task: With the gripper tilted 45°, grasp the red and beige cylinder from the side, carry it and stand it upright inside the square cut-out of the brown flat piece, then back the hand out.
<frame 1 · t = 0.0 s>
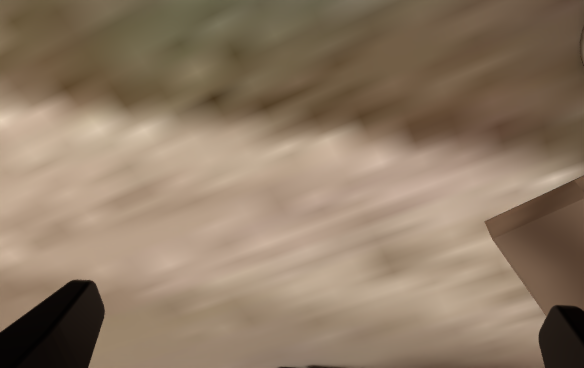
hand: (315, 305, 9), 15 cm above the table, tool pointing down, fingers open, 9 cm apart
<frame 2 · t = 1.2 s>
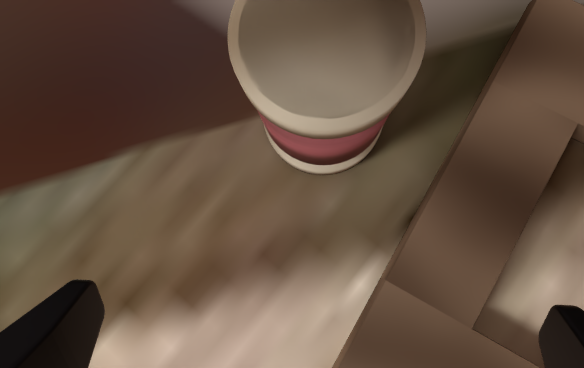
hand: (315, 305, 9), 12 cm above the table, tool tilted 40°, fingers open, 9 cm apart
red and beige cylinder: (322, 118, 21), on the table
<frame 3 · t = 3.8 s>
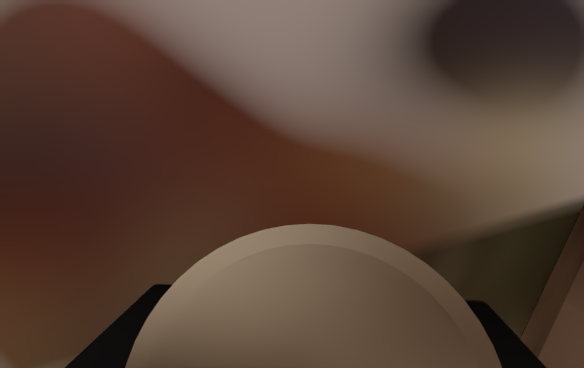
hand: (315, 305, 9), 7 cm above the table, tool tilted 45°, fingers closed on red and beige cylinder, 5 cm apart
red and beige cylinder: (314, 329, 15), on the table, touching gripper
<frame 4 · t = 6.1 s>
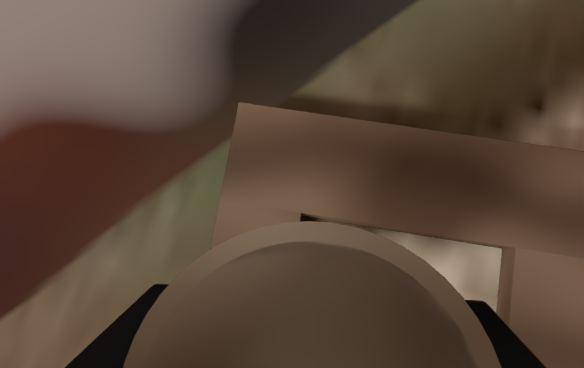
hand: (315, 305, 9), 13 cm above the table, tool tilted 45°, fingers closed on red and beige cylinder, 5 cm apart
red and beige cylinder: (314, 328, 15), point 7 cm above the table, touching gripper
brown flat piece: (387, 334, 21), on the table
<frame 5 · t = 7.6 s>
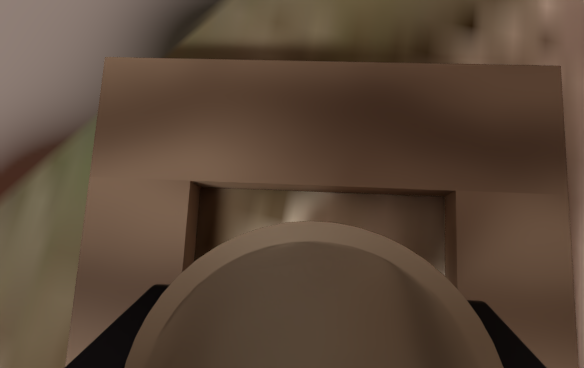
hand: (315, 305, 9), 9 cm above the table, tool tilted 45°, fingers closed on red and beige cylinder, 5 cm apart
red and beige cylinder: (315, 328, 15), point 2 cm above the table, touching gripper
brown flat piece: (315, 317, 17), on the table
when the fingers open (8 cm above the table, at t = 8.7 s): red and beige cylinder drops 1 cm, resting in brown flat piece.
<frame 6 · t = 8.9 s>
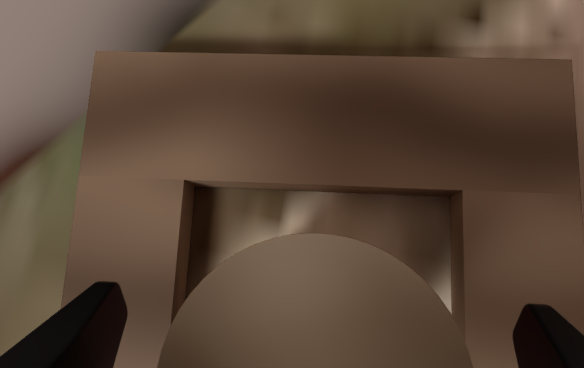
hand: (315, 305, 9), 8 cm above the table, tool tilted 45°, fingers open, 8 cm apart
red and beige cylinder: (315, 324, 16), resting in brown flat piece
brown flat piece: (315, 323, 16), on the table
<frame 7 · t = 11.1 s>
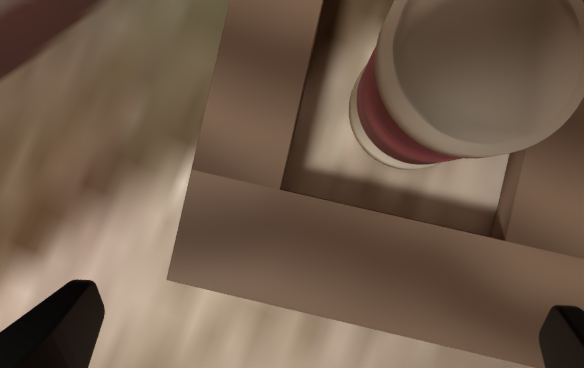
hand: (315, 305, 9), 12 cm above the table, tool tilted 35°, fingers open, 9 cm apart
red and beige cylinder: (408, 109, 21), resting in brown flat piece
brown flat piece: (408, 109, 21), on the table
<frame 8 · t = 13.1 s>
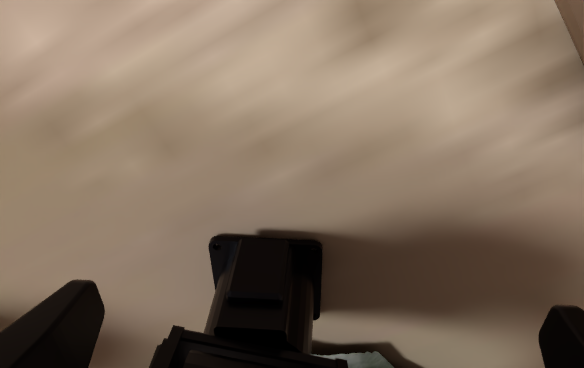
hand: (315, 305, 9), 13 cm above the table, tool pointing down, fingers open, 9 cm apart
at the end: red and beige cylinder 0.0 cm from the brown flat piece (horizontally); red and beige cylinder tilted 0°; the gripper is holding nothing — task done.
